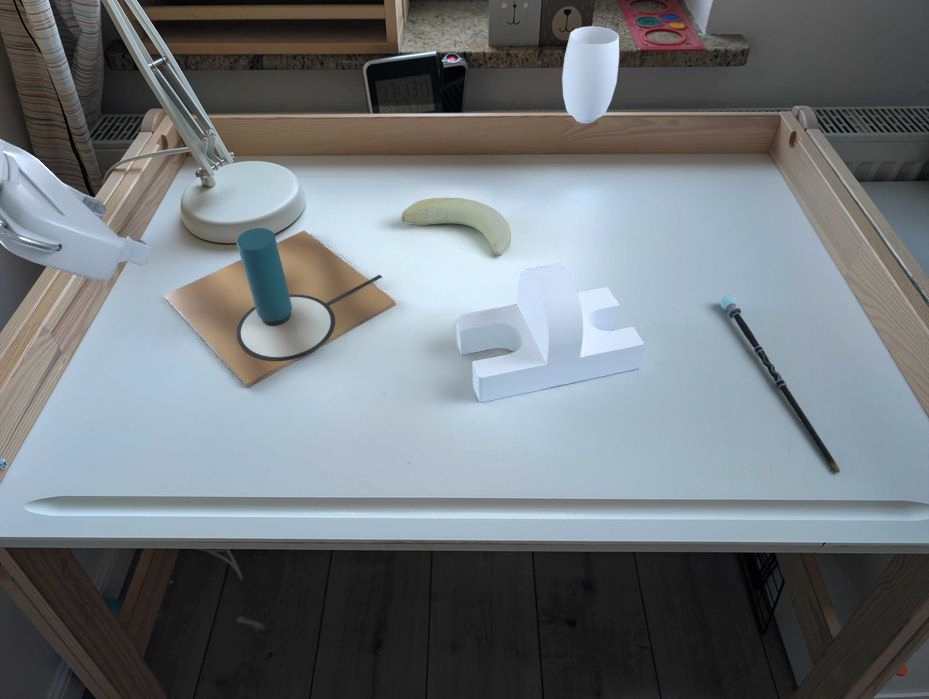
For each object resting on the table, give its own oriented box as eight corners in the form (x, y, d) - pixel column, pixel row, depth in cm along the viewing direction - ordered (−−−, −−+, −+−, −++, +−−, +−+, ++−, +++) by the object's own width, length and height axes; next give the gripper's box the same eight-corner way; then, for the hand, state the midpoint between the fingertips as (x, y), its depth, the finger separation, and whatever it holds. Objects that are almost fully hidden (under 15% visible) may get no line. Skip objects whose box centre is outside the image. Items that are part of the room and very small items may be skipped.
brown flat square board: (250, 391, 76) (248, 386, 76) (165, 299, 87) (163, 294, 87) (409, 301, 86) (408, 296, 86) (315, 229, 97) (314, 224, 97)
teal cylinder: (270, 332, 82) (248, 254, 74) (252, 315, 84) (229, 238, 76) (300, 316, 83) (281, 239, 76) (282, 300, 86) (262, 223, 78)
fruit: (427, 202, 101) (426, 182, 99) (524, 231, 96) (525, 210, 94) (400, 229, 97) (398, 208, 95) (500, 260, 92) (500, 239, 89)
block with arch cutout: (603, 311, 84) (615, 233, 77) (639, 368, 77) (656, 289, 70) (455, 340, 81) (452, 262, 73) (479, 403, 74) (478, 324, 67)
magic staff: (831, 480, 68) (827, 473, 67) (720, 305, 85) (715, 297, 84) (849, 471, 67) (845, 464, 66) (734, 297, 85) (729, 289, 83)
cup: (562, 163, 109) (575, 21, 94) (609, 172, 106) (629, 29, 92) (547, 187, 104) (557, 41, 89) (595, 197, 102) (614, 50, 87)
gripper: (16, 191, 47) (193, 249, 59) (-73, 97, 58) (91, 161, 70) (-22, 275, 48) (160, 315, 60) (-102, 166, 59) (64, 218, 71)
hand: (122, 232), depth 65 cm, fingers open, 8 cm apart
